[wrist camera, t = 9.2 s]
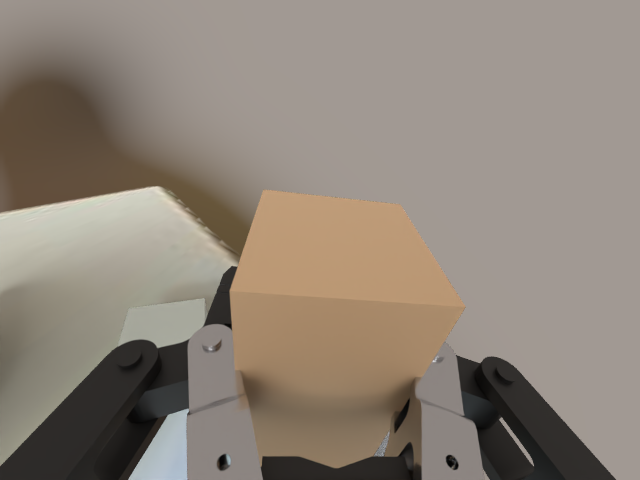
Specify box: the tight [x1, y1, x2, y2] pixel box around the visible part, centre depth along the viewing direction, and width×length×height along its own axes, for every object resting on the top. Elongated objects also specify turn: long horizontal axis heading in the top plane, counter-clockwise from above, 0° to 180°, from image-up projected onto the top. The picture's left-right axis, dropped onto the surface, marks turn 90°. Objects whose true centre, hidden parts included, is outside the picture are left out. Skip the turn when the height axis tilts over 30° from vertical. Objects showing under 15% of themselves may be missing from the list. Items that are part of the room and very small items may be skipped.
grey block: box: [117, 298, 207, 348], centre depth 27 cm, size 7×7×5 cm
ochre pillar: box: [230, 190, 465, 468], centre depth 10 cm, size 5×5×10 cm
